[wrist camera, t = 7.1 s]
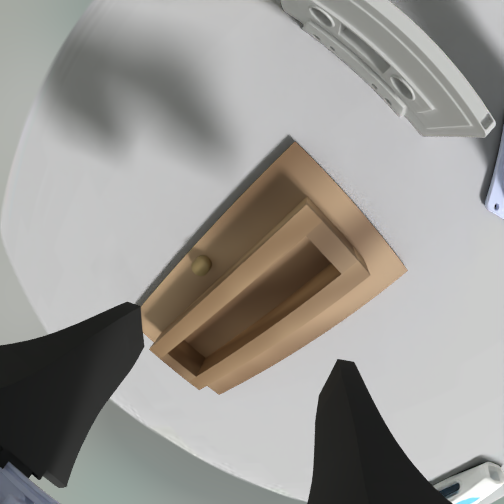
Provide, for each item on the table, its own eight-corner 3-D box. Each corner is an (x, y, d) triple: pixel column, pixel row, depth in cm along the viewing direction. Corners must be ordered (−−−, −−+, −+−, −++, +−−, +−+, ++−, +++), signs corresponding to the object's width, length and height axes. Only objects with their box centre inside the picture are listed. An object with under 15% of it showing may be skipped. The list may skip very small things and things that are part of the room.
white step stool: (503, 466, 26) (507, 485, 21) (409, 513, 38) (410, 531, 32) (481, 457, 25) (487, 483, 19) (365, 510, 37) (364, 532, 31)
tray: (405, 266, 17) (418, 287, 14) (220, 390, 25) (212, 413, 22) (295, 141, 16) (292, 140, 13) (133, 316, 24) (115, 335, 21)
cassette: (276, 14, 13) (253, -52, 6) (295, -2, 12) (283, -71, 5) (417, 142, 14) (483, 146, 7) (435, 125, 13) (504, 121, 6)
